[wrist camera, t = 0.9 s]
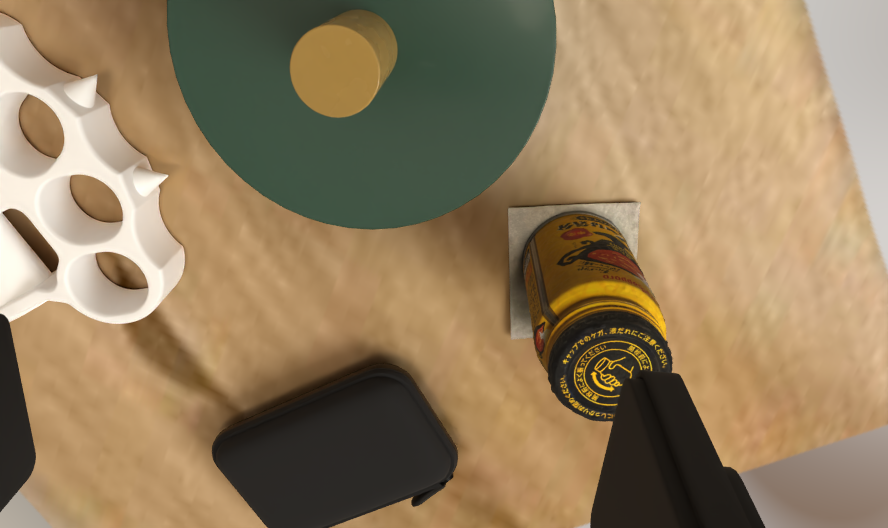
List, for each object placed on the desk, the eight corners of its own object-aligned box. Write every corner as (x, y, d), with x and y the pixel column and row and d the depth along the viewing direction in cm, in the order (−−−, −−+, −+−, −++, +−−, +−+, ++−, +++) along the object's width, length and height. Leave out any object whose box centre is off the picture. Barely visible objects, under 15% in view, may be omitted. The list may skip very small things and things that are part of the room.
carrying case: (294, 533, 50) (477, 464, 47) (284, 568, 47) (477, 497, 44) (208, 426, 46) (399, 342, 43) (191, 456, 44) (394, 370, 40)
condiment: (639, 200, 38) (703, 303, 27) (631, 333, 42) (685, 470, 31) (507, 206, 39) (519, 308, 28) (510, 336, 42) (521, 472, 32)
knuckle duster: (-164, 94, 38) (37, -42, 34) (54, 347, 44) (242, 254, 41) (-220, 107, 35) (-6, -40, 31) (23, 377, 41) (223, 279, 38)
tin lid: (99, -26, 28) (-5, -17, 22) (426, -273, 24) (408, -345, 18) (320, 275, 33) (285, 349, 27) (617, 112, 30) (653, 155, 23)
